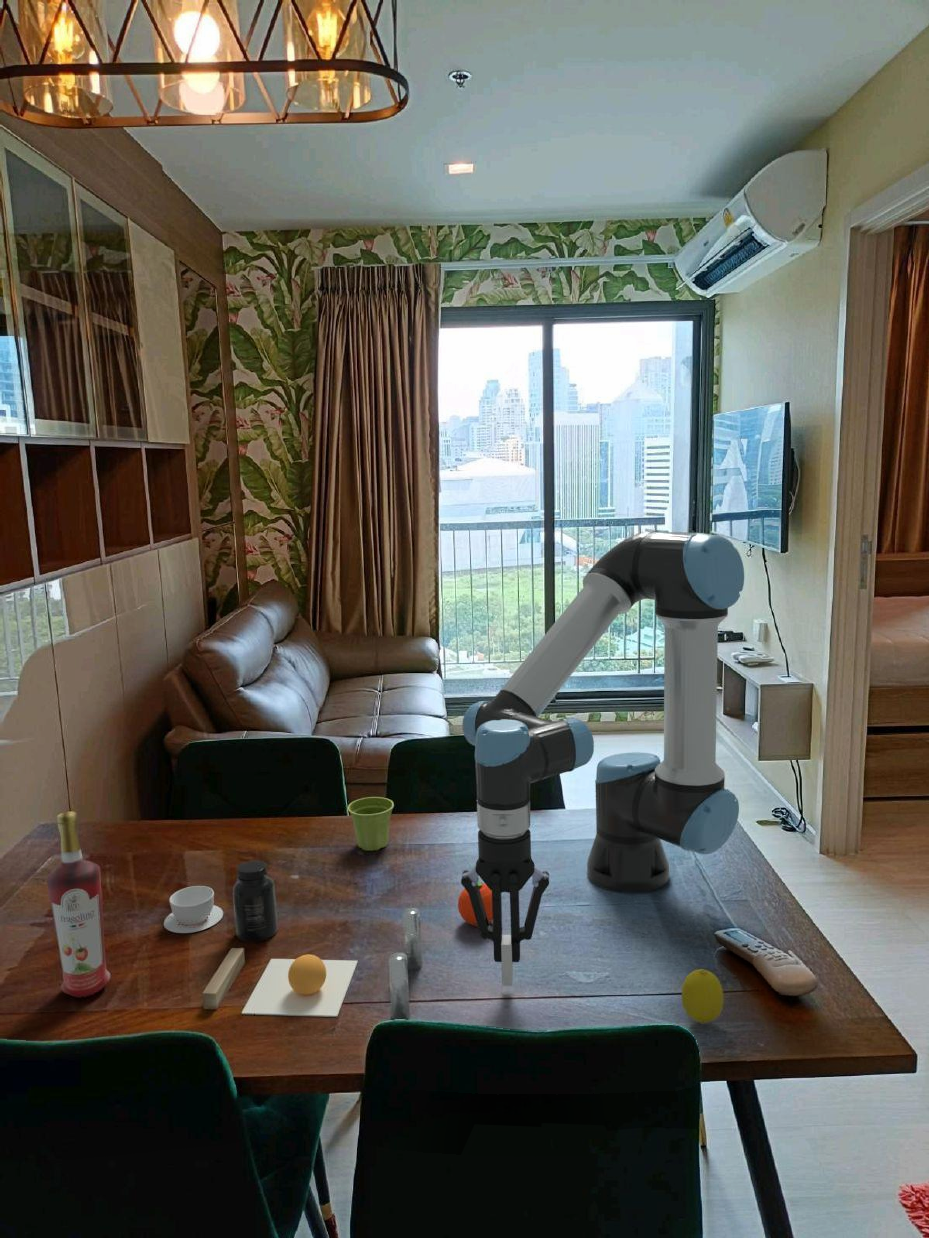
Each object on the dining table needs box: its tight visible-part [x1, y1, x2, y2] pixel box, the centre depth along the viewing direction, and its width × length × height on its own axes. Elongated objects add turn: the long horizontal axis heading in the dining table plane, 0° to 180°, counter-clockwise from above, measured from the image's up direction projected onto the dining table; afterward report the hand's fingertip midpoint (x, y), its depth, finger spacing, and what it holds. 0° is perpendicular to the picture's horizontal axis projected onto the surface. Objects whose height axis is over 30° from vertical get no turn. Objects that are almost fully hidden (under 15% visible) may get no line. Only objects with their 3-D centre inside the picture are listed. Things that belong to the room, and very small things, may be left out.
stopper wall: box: [202, 947, 246, 1010], centre depth 132 cm, size 2×12×2 cm, turn 175°
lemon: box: [681, 968, 724, 1025], centre depth 119 cm, size 6×6×8 cm
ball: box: [288, 953, 326, 995], centre depth 130 cm, size 6×6×6 cm
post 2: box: [402, 907, 423, 971], centre depth 135 cm, size 3×3×9 cm
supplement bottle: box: [232, 860, 278, 943], centre depth 146 cm, size 7×7×12 cm
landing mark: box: [241, 958, 359, 1018], centre depth 131 cm, size 14×14×1 cm
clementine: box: [457, 881, 493, 927], centre depth 148 cm, size 8×7×7 cm
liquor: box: [46, 811, 111, 999], centre depth 130 cm, size 7×7×28 cm
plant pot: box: [347, 796, 395, 852], centre depth 180 cm, size 9×9×9 cm
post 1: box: [388, 952, 411, 1021], centre depth 123 cm, size 3×3×9 cm
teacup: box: [163, 885, 224, 934], centre depth 152 cm, size 10×10×5 cm
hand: (507, 980), depth 128 cm, fingers closed
